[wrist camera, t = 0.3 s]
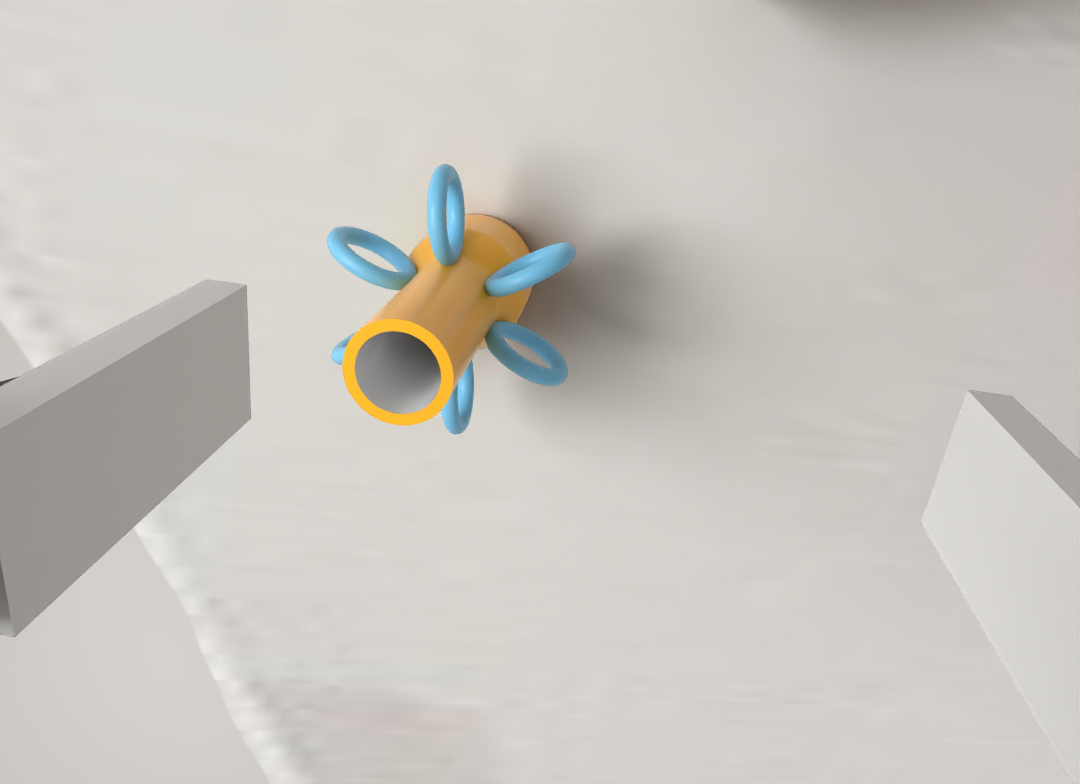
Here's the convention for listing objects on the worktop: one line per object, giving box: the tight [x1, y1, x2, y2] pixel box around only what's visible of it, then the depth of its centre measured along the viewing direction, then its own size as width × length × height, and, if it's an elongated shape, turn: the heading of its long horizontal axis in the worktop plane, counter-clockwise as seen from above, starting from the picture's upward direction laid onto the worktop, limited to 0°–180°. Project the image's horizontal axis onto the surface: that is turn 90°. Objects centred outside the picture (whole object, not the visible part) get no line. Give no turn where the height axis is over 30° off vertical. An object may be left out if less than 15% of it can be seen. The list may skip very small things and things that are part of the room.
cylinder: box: [327, 164, 575, 434], centre depth 35 cm, size 12×10×15 cm
